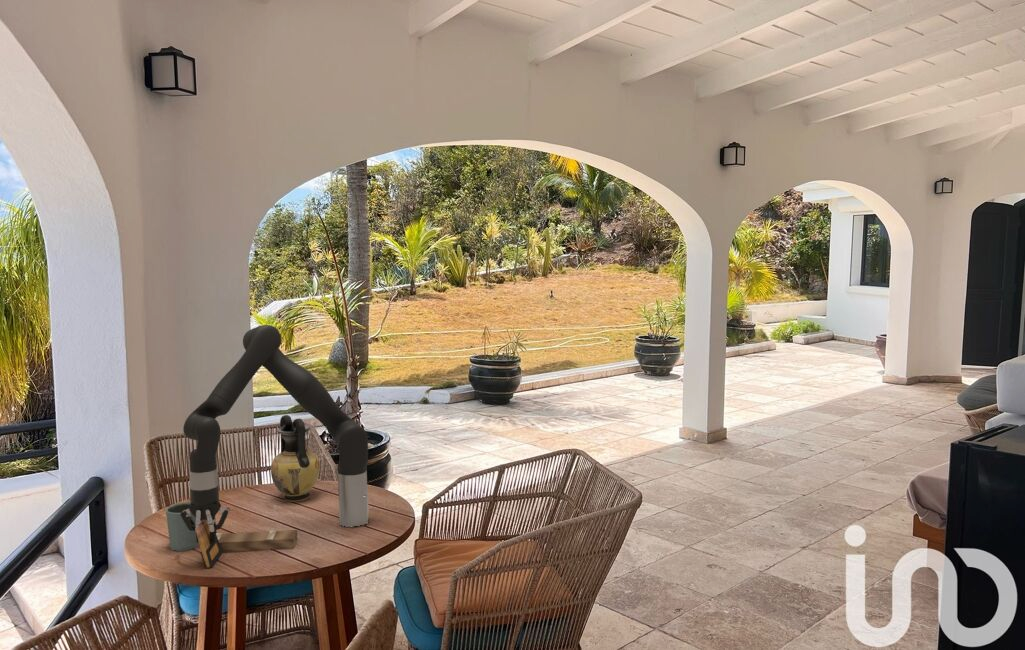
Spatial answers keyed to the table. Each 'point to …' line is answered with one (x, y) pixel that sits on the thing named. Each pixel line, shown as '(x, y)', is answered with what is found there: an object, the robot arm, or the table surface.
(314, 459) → the amphora
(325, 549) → the table surface
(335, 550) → the table surface
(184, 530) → the grey-green cup
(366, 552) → the table surface
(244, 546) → the plank
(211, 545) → the ammunition clip
